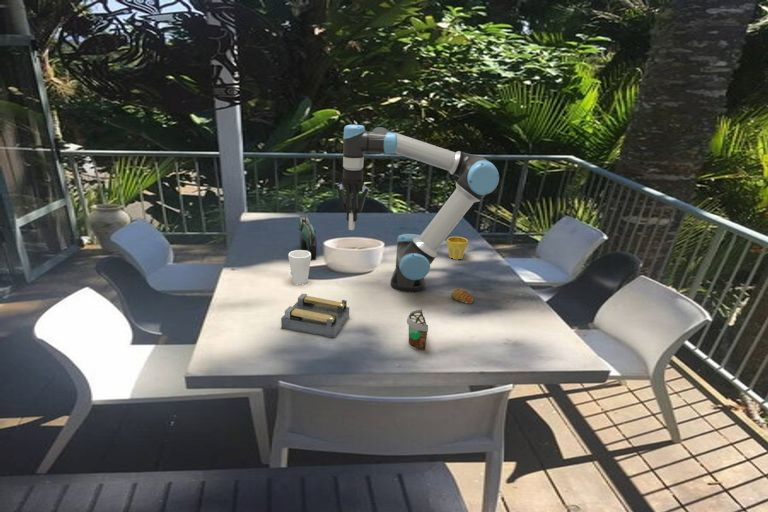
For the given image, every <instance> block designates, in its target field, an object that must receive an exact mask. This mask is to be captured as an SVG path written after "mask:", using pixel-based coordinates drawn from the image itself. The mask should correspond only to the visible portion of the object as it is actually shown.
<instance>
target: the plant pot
mask: <svg viewBox="0 0 768 512" xmlns="http://www.w3.org/2000/svg"><path fill="white" fill-rule="evenodd" d="M468 242H469V239H467V238H465V237H462V236H450V237H448V238H446V247H447V248H448V258H449V257H450V258H453V259H461V260H462V259H463V258H464V254H465V251H466V249H467V248H468V246H469V245H468V244H469V243H468ZM450 258H449V259H450ZM453 259H452V260H453Z"/></svg>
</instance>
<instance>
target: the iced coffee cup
mask: <svg viewBox="0 0 768 512" xmlns="http://www.w3.org/2000/svg"><path fill="white" fill-rule="evenodd" d="M423 312H424V311H423V309H414V310H413V311H411V312H409V314H408V316H407V319H406V323H407V326H408V344H409V346H410V347H412V348H413V349H416V350H421V351H425V350H426V346H427V338H428V337H427V336H428V331H429V325H428V324H427V322H426V318H425V316H424V314H423Z"/></svg>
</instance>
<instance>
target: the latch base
mask: <svg viewBox="0 0 768 512" xmlns="http://www.w3.org/2000/svg"><path fill="white" fill-rule="evenodd" d="M306 296H308V294H307V293H301V294H300V295H299V296H298V297H297V301H296V303H294V304H293V305H292V306H291V305H289V306H288V307H287V308H286V309H285V310H284V315H283V316H281V318H280V325H281V329H285V330H290V331H295V332H301V333H307V334H311V335H318V336H323V337H330V338H334V339H335V338H336V336H337V335H338V334H339V332H340V331H341V329H342V328H343V326H344V325H345V324H346V322H347V320H349V318H350V306H347V304H348V303H347V301H348V300H344V299H342V300H341V302H344V303H345V304H346V305H345V306H344V308H343V306H340V305H338V308H332V307H327V306H322V305H317V304H312V303H307V302H304V299H305V298H306ZM295 308H296V309H301V310H306V311H311V312H316V313H321V314H326V315H331V316H335V320H334V321H333V322H332V320H331V319H327V322H323V321H318V320H313V319H308V318H304V317H299V316H294V315H291V312H292V311H293V310H294V309H295Z"/></svg>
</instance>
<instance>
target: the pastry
mask: <svg viewBox="0 0 768 512" xmlns="http://www.w3.org/2000/svg"><path fill="white" fill-rule="evenodd" d="M451 297H452V299H454V300H456V299H457V300H459V301H458V302H460V301H463V302H467V303H470V304H473V303H474V300H475V299H474V297H473V295H472V294H471V293H469V292H468V291H467V290H465V289H461V288H459V287H457V288H455V289H454V290H453V292H451ZM457 300H456V301H457ZM467 303H466V304H467Z"/></svg>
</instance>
